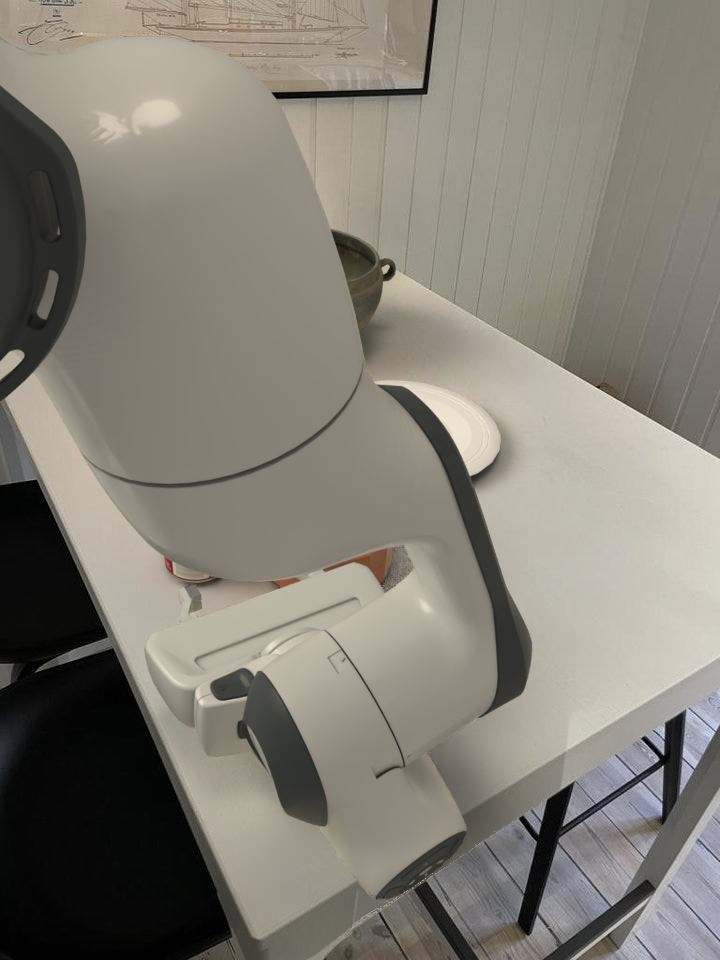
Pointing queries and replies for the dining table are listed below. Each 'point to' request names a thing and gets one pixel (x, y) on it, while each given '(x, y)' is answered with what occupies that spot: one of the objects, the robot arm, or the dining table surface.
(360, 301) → the bowl
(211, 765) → the dining table surface
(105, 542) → the dining table surface
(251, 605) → the robot arm
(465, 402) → the plate
